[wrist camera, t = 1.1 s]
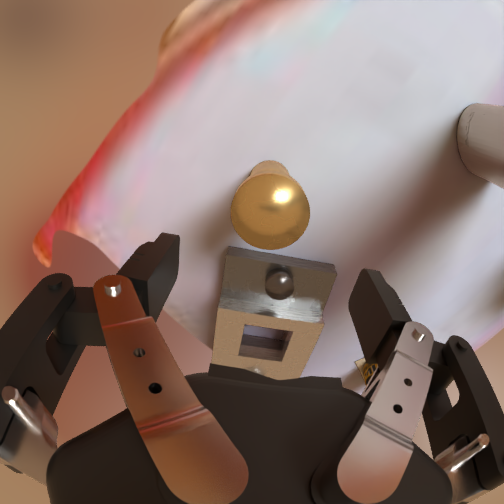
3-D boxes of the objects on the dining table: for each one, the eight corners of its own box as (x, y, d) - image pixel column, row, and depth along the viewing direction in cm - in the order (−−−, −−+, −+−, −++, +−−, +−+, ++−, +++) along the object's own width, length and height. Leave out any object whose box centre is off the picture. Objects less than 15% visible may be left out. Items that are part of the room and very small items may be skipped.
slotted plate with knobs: (333, 264, 31) (344, 292, 26) (290, 373, 40) (291, 401, 35) (228, 246, 31) (221, 272, 26) (213, 362, 40) (207, 390, 35)
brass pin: (301, 160, 26) (318, 184, 17) (290, 209, 28) (299, 255, 19) (248, 150, 26) (236, 168, 17) (239, 200, 28) (225, 242, 19)
